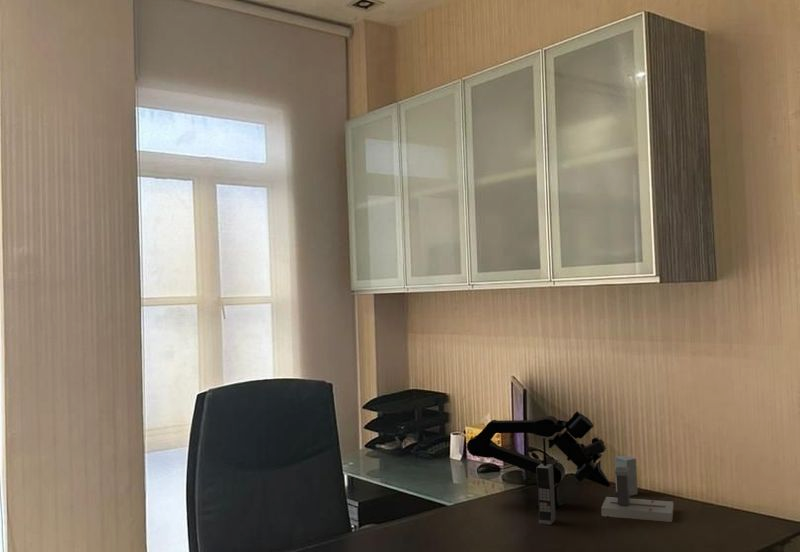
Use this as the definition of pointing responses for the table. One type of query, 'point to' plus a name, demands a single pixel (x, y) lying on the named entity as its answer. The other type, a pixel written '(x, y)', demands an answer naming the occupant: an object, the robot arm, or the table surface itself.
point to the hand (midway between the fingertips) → (609, 485)
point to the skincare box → (631, 464)
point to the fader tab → (623, 485)
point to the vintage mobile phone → (546, 491)
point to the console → (639, 509)
